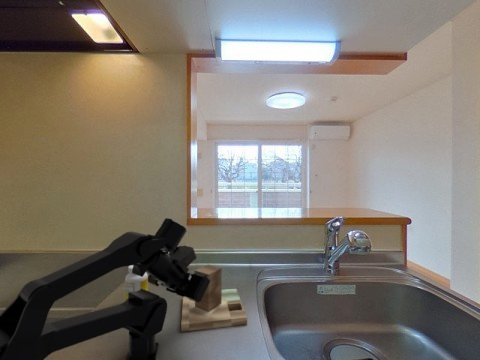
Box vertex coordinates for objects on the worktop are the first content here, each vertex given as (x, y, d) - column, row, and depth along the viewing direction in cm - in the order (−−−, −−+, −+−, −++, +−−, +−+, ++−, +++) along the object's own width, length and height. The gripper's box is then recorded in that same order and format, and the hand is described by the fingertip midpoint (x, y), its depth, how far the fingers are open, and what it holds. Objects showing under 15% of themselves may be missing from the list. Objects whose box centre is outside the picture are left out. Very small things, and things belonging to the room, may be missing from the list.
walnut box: (208, 312, 74) (208, 274, 73) (194, 306, 77) (194, 270, 77) (221, 303, 79) (221, 268, 78) (208, 298, 82) (208, 264, 82)
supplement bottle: (147, 298, 86) (147, 261, 85) (148, 308, 79) (147, 267, 79) (126, 302, 83) (125, 263, 83) (124, 312, 77) (124, 270, 77)
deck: (247, 324, 71) (247, 317, 71) (181, 331, 68) (181, 324, 68) (236, 294, 89) (236, 288, 89) (183, 299, 85) (183, 293, 85)
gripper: (205, 244, 62) (231, 274, 72) (156, 234, 73) (185, 261, 82) (181, 288, 56) (213, 314, 65) (131, 270, 66) (165, 295, 76)
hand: (193, 293), depth 72 cm, fingers closed
